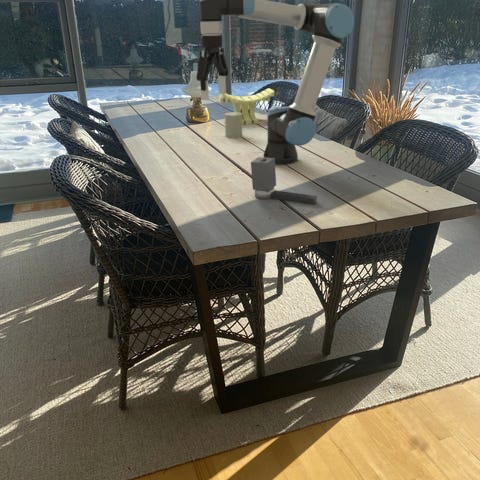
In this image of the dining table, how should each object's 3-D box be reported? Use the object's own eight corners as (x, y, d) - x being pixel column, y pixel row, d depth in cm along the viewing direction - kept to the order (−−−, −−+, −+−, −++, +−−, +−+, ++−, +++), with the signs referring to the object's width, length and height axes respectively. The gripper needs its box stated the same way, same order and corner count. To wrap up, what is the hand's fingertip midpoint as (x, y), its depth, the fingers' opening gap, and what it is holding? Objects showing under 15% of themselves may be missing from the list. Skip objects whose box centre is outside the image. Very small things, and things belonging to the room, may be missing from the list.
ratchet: (259, 191, 180) (259, 174, 177) (318, 200, 171) (319, 182, 169) (251, 197, 175) (251, 180, 172) (312, 206, 166) (313, 188, 163)
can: (241, 138, 254) (240, 114, 249) (223, 137, 256) (222, 114, 250) (243, 133, 262) (243, 111, 257) (226, 133, 264) (226, 111, 259)
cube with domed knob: (259, 184, 179) (257, 156, 174) (276, 185, 176) (274, 157, 172) (252, 189, 173) (250, 161, 169) (269, 190, 171) (267, 162, 167)
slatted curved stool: (268, 117, 301) (268, 87, 293) (274, 122, 287) (274, 91, 279) (219, 119, 297) (218, 89, 289) (223, 125, 283) (222, 93, 275)
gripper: (218, 32, 183) (220, 91, 193) (184, 36, 163) (187, 101, 172) (236, 32, 181) (237, 92, 190) (203, 36, 160) (206, 102, 169)
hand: (213, 96), depth 181 cm, fingers open, 13 cm apart
